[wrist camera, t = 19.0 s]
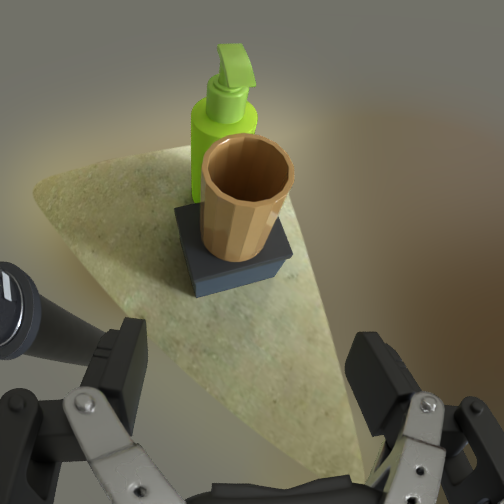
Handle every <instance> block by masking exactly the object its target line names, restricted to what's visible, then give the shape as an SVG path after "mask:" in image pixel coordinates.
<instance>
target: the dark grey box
mask: <svg viewBox="0 0 504 504" xmlns="http://www.w3.org/2000/svg"><path fill="white" fill-rule="evenodd" d="M174 210H175V216H176V220H177V224H178V228H179V233H180V241H181V245H182V249H183V252H184V256H185V260H186V264H187V267H188V271H189V275H190V278H191V282H192V286H193V289H194V293H195V296H196V298H198V297H202V296H206V295H210V294H213V293H217V292H221V291H225V290H228V289H232V288H236V287H239V286H243V285H247V284H250V283H254V282H257V281H261V280H265V279H268V278H272V277H274V276H275V275H276V273H277V272H278V270H279V269H280V268H281V266H282V265H283V263H284V262H285V260H286V259H289V258H291V257H292V255H293V252H292V250H291V247H290V245H289V242H288V240H287V237H286V235H285V232H284V229H283V227H282V224H281V222H280V219H279V217H278V218H277V220H276V222H275V224H274V226H273V229H272V231H271V233H270V235H269V237H268V239H267V241H266V243H265V245H264V247H263V249H262V250H261V251H260V252H259V253H258V254H257V255H256V256H254V257H253V258H251V259H249V260H246V261H242V262H229V261H225V260H222V259H219V258H217V257H216V256H214V255H213V254H212V253H210V251H209V250H208V249H207V248H206V247H205V245H204V243H203V241H202V238H201V232H200V202H199V203H195V204H190V205H186V206H182V207H177V208H174Z"/></svg>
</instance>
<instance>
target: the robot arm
mask: <svg viewBox="0 0 504 504" xmlns="http://www.w3.org/2000/svg"><path fill="white" fill-rule="evenodd" d="M24 312H25V300H24V294H23V291H22V288H21V286H20V284H19V282H18V281H17V279H16V278H15V277H14V276H12V275H11V274H10V273H8V272H7V271H4V270H3V269H1V268H0V347H3V346H5V345H7V344H8V343H10V342H11V341H12V340H13V339H14V338H15V336H16V335H17V333H18V332H19V330H20V328H21V325H22V322H23V318H24ZM147 363H148V347H147V330H146V321H145V320H144V319H136V318H128V317H125V319H124V321H123V323H122V326H121V328H120V330H114V329H110V330H109V331H108V332H107V333H105V334H104V335H103V336H102V337H101V339H100V341H99V343H98V345H97V349H96V350H95V352H94V354H93V357H92V359H91V361H90V363H89V366H88V368H87V370H86V373H85V375H84V377H83V380H82V382H81V385H80V387H78V388H75V389H73V390H71V391H70V392H68V393H67V394H66V396H65V397H64V399H61V400H45V401H38V400H37V398H36V396H35V395H34V394H33V393H32V392H31V391H29V390H27V389H23V388H16V389H12V390H10V391H8V392H6V393H5V394H4V395H3V396H2V397H1V399H0V504H53V502H54V497H55V492H56V486H57V481H58V477H59V472H60V467H61V463H62V462H68V461H69V462H72V461H87V462H88V463H89V465H90V467H91V469H92V471H93V473H94V474H95V476H96V478H97V480H98V481H99V483H100V485H101V487H102V488H103V490H104V491H105V493H106V495H107V496H108V498H109V500H110V501H111V503H112V504H436V500H437V496H438V491H439V487H440V483H441V485H442V487H443V490H444V492H445V495H446V497H447V500H448V502H449V504H504V432H503V430H502V428H501V427H500V425H499V424H498V422H497V420H496V419H495V417H494V416H493V414H492V413H491V411H490V410H489V408H488V407H487V405H486V404H485V403H484V402H483V401H482V400H480V399H478V398H476V397H472V396H469V397H465V398H464V399H463V400H462V402H461V403H460V405H459V406H449V405H444V404H443V402H442V401H441V400H440V398H439V397H437V396H436V395H434V394H432V393H429V392H425V391H422V390H421V389H420V387H419V386H418V384H417V382H416V381H415V379H414V378H413V376H412V375H411V373H410V372H409V370H408V369H407V368H406V365H405V364H404V362H402V359H401V358H400V356H399V355H398V353H397V352H396V351H395V350H394V349H393V348H392V347H391V346H389V345H388V344H385V343H384V342H383V340H382V339H381V337H380V336H379V334H378V333H377V332H358V333H357V334H356V336H355V338H354V341H353V343H352V347H351V349H350V352H349V354H348V357H347V359H346V363H345V374H346V377H347V380H348V382H349V384H350V386H351V389H352V390H353V393H354V395H355V398H356V400H357V402H358V405H359V407H360V409H361V411H362V414H363V416H364V418H365V421H366V423H367V425H368V428H369V430H370V432H371V435H372V437H374V436H379V435H384V437H385V440H384V441H383V442H382V445H381V447H380V450H379V452H378V456H377V458H376V460H375V463H374V465H373V468H372V470H371V472H370V475H369V477H368V479H367V481H366V483H365V484H364V485H363V484H358V483H352V481H351V478H350V475H342V476H336V477H329V478H321V479H317V480H314V481H311V482H308V483H305V484H302V485H299V486H296V487H293V488H290V489H276V488H271V487H264V486H259V485H253V484H227V483H212V489H211V492H205V493H201V494H198V495H195V496H192V497H190V498H187V499H185V500H183V499H182V497H181V496H180V495H179V494H178V493H177V492H176V490H175V489H174V488H173V487H172V485H171V484H170V483H169V482H168V480H167V479H166V478H165V477H164V475H163V474H162V473H161V471H160V470H159V469H158V467H157V466H156V465H155V464H154V462H153V461H152V459H151V458H150V457H149V455H148V454H147V453H146V451H145V450H144V449H143V448H142V446H141V445H139V444H138V443H137V444H135V443H134V442H133V440H132V439H131V437H130V436H132V433H133V428H134V423H135V418H136V414H137V409H138V404H139V399H140V395H141V391H142V386H143V382H144V377H145V373H146V368H147ZM468 442H469V444H470V446H471V448H472V450H473V452H474V454H475V456H476V458H477V466H476V468H475V470H474V471H473V469H472V467H471V465H470V463H469V461H468V459H467V457H466V455H465V453H464V451H463V448H464V447H465V446H466V445H467V443H468Z"/></svg>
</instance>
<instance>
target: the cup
mask: <svg viewBox="0 0 504 504" xmlns="http://www.w3.org/2000/svg"><path fill="white" fill-rule="evenodd" d="M293 183H294V166H293V164H292V162H291V160H290V158H289V155H288V154H287V152H285V151H284V150H283V149H282V148H281V147H280V146H279V145H278V144H277V143H276V142H274V141H272V140H269V139H267V138H265V137H263V136H260V135H255V134H248V133H239V134H232V135H228V136H225V137H223V138H221V139H219V140H217V141H215V142H214V143H213V144H212V145H211V146H210V147H209V149H208V150H207V151H206V152H205V154H204V157H203V162H202V167H201V198H200V232H201V238H202V241H203V243H204V245H205V247H206V248H207V249H208V250H209V251H210V253H212V254H213V255H214V256H216V257H217V258H219V259H222V260H225V261H229V262H242V261H246V260H249V259H251V258H253V257H254V256H256V255H257V254H258V253H259V252H260V251H261V250H262V249H263V247H264V245H265V243H266V241H267V239H268V237H269V235H270V233H271V231H272V229H273V226H274V224H275V222H276V220H277V218H278V216H279V213H280V211H281V209H282V207H283V205H284V203H285V200H286V198H287V196H288V194H289V192H290V190H291V187H292V185H293Z"/></svg>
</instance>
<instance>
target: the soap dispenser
mask: <svg viewBox="0 0 504 504" xmlns="http://www.w3.org/2000/svg"><path fill="white" fill-rule="evenodd" d="M217 51H218V54H219V57H220V70H219V74H217V75H214V76H213V77H211V78H210V80H209V81H208V84H207V97H205V98H203V99H201V100H200V101H198V102H197V103H196V104H195V106H194V107H193V109H192V112H191V186H192V198H193V201H194V202H195V203H199V202H200V198H201V167H202V162H203V157H204V154H205V152H206V151H207V150H208V149H209V147H210V146H211V145H212V144H213V143H214V142H215V141H217V140H219V139H221V138H223V137H225V136H228V135H232V134H239V133H248V134H255V129H256V125H257V121H258V115H257V112H256V110H255V108H254V107H253V106H252V105H251V104H250V103H249V102H248V101H247V97H248V92H249V87H256V82H255V77H254V73H253V69H252V66H251V63H250V60H249V58H248V55H247V53H246V51H245V49H244V47H243V45H242V44H218V46H217Z"/></svg>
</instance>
